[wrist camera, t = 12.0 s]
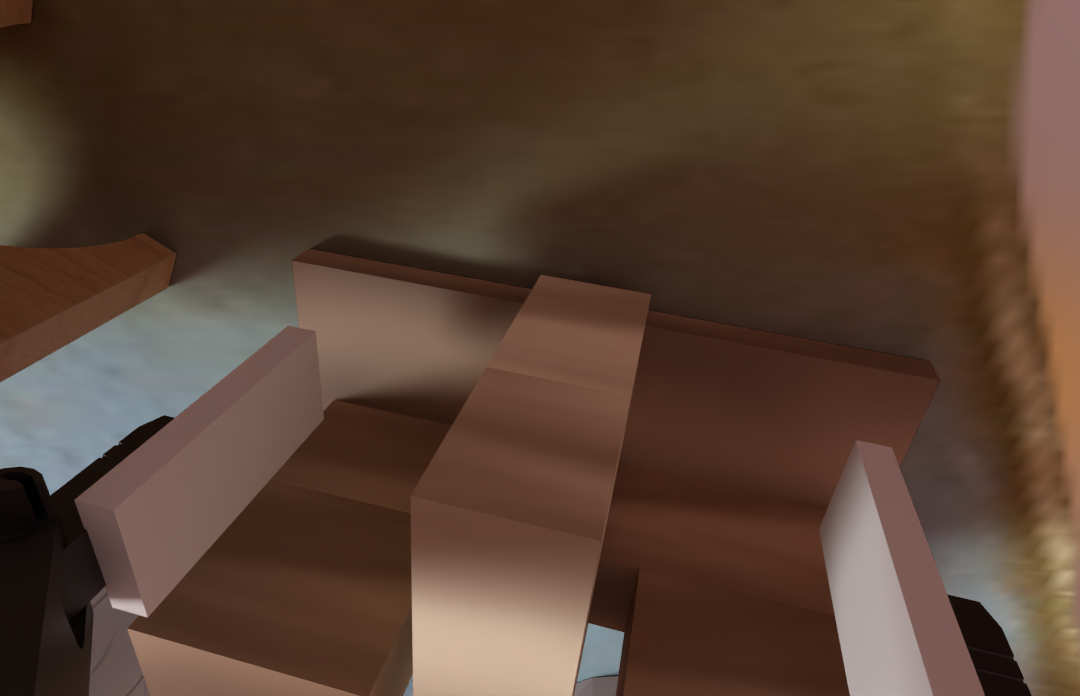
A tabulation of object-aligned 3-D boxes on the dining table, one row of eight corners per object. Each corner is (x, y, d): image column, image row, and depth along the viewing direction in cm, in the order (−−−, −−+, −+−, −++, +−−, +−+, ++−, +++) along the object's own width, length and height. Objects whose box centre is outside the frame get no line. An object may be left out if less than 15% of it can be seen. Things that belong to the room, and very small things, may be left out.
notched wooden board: (540, 274, 18) (410, 495, 10) (651, 294, 17) (601, 541, 10) (507, 614, 25) (415, 896, 17) (585, 635, 25) (527, 934, 17)
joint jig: (309, 248, 20) (18, 442, 12) (929, 361, 18) (1128, 717, 9) (335, 530, 26) (154, 792, 18) (800, 646, 24) (848, 1020, 15)
